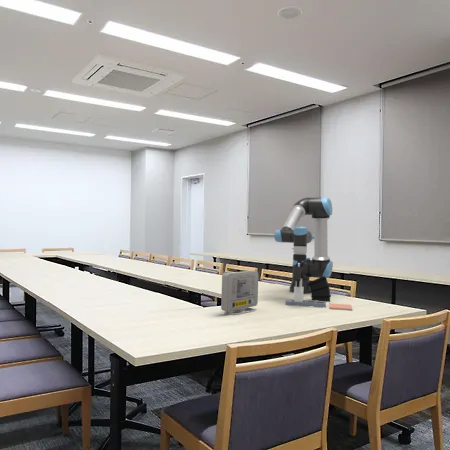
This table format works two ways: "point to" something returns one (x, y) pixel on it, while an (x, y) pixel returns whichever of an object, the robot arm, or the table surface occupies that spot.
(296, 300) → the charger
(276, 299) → the table surface
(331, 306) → the mat
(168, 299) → the table surface
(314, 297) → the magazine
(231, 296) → the network device
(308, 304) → the power strip
